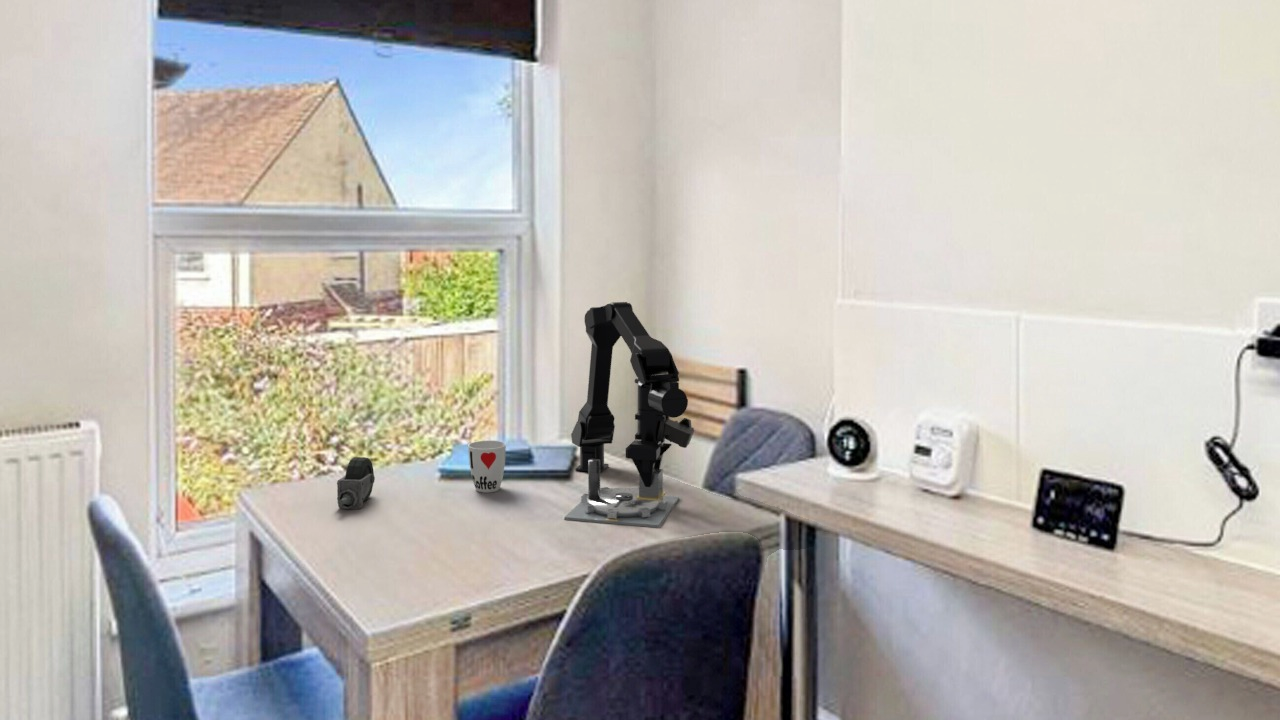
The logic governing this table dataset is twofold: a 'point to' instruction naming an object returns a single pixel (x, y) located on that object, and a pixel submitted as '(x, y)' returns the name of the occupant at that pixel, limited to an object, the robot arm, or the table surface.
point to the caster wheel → (355, 484)
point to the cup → (487, 464)
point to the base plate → (650, 521)
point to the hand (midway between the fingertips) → (651, 483)
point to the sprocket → (617, 498)
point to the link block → (652, 485)
